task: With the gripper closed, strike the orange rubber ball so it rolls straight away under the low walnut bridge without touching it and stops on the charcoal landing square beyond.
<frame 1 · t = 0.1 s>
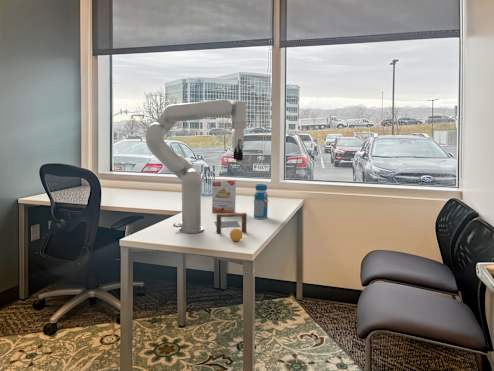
hand: (238, 159, 199), 37 cm above the table, tool pointing down, fingers open, 9 cm apart
bridge: (231, 232, 198), on the table
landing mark: (227, 224, 215), on the table
beverage bottle: (260, 218, 232), on the table
ball: (236, 234, 182), on the table
cracker box: (223, 212, 246), on the table
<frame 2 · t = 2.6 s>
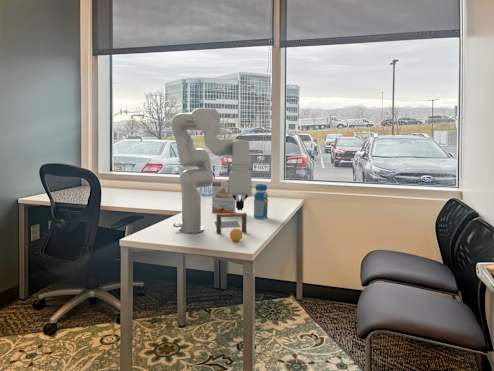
hand: (239, 209, 171), 17 cm above the table, tool pointing down, fingers closed
nothing on the table moved.
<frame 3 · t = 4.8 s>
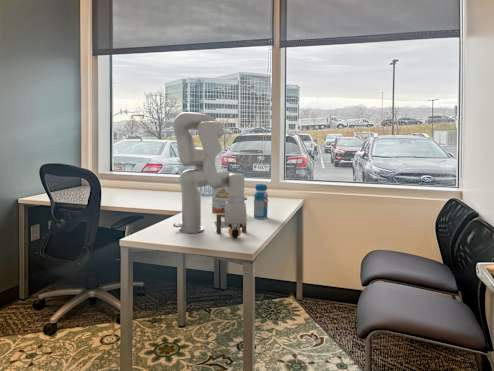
hand: (235, 237, 184), 1 cm above the table, tool pointing down, fingers closed
ball: (234, 231, 188), on the table
everything else where it was.
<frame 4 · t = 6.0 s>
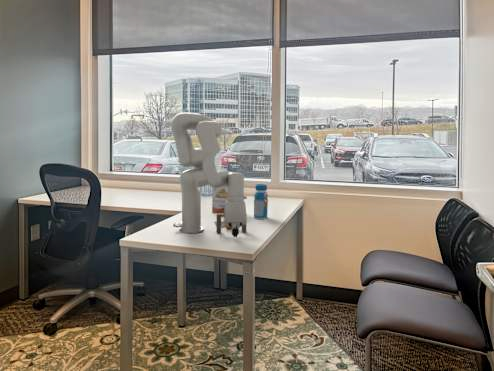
hand: (235, 236, 185), 1 cm above the table, tool pointing down, fingers closed
ball: (229, 222, 207), on the table
everything else where it was.
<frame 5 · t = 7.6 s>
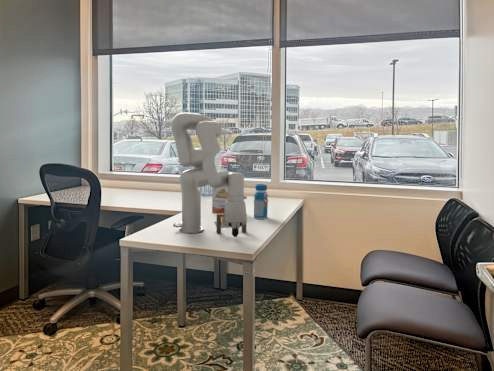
hand: (235, 236, 185), 1 cm above the table, tool pointing down, fingers closed
ball: (226, 218, 216), on the table
everything else where it was.
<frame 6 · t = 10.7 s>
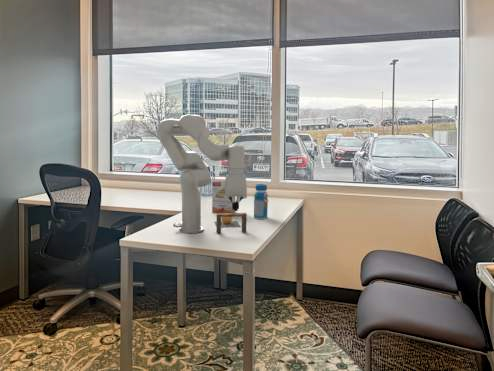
hand: (235, 210, 183), 14 cm above the table, tool pointing down, fingers closed
nothing on the table moved.
at the end: ball 2.0 cm from the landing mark (horizontally); ball never touched bridge; ball at rest at the end (0.0 cm/s) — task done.
